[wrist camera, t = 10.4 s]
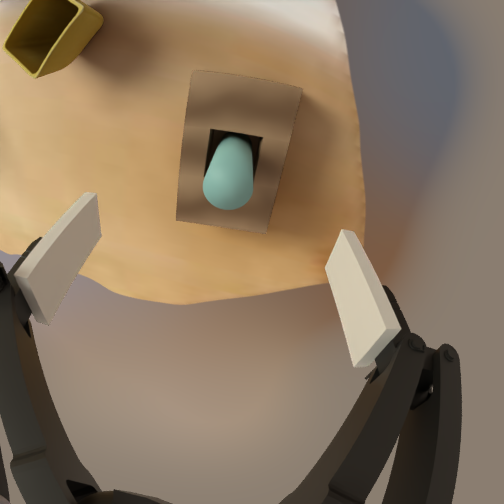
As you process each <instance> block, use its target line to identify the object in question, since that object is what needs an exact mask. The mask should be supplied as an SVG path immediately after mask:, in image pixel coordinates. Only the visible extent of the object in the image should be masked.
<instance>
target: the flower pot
mask: <svg viewBox="0 0 504 504" xmlns="http://www.w3.org/2000/svg"><path fill="white" fill-rule="evenodd" d="M102 24H103V17H102V15H101V14H100V13H98V12H97V11H95V10H94V9H92V8H91V7H89V6H88V5H86V4H85V3H83V2H82V1H81V0H30V1H29V3H28V4H27V6H26V7H25V9H24V10H23V12H22V13H21V15H20V16H19V18H18V20H17V21H16V23H15V24H14V26H13V28H12V29H11V31H10V33H9V34H8V36H7V38H6V40H5V42H4V44H3V47H2V49H3V50H4V51H5V52H6V53H7V54H8V55H9V56H10V57H11V58H12V59H13V60H14V61H15V62H16V63H17V64H18V65H19V66H20V67H21V68H22V69H23V70H24V71H25V72H26V73H27V74H28V75H29V76H31V77H32V78H34V79H36V78H38V77H41V76H44V75H47V74H50V73H53V72H56V71H59V70H61V69H63V68H65V67H66V66H68V65H69V64H70V63H71V62H72V61H74V60H75V58H76V57H77V56H78V55H79V54H80V53H81V52H82V50H83V49H84V47H85V46H86V45H87V44H88V42H89V41H90V40H91V38H92V37H93V36H94V35H95V34H96V32H97V31H98V30H99V29H100V28H101V26H102Z"/></svg>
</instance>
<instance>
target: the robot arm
mask: <svg viewBox="0 0 504 504" xmlns="http://www.w3.org/2000/svg"><path fill="white" fill-rule="evenodd" d="M101 236H102V234H101V227H100V219H99V210H98V201H97V193H90V192H85V193H84V194H83V195H82V196H81V197H80V198H79V199H78V200H77V201H76V202H75V203H74V204H73V205H72V206H71V207H70V208H69V209H68V210H67V211H66V212H65V213H64V214H63V215H62V216H61V217H60V219H59V220H58V221H57V222H56V223H55V224H54V225H53V226H52V227H51V229H50V230H49V231H48V232H47V233H46V234H45V236H44V237H39V238H38V239H37V240H35V241H34V242H32V243H31V244H30V246H29V247H28V248H27V249H26V251H25V252H24V253H23V254H22V256H21V257H20V258H19V259H18V261H17V262H16V264H15V265H14V266H13V267H12V269H11V270H10V271H9V273H8V274H6V271H5V269H4V267H3V264H2V263H1V262H0V414H1V418H2V422H3V425H4V429H5V432H6V435H7V438H8V441H9V444H10V447H11V449H12V453H13V460H12V461H11V463H10V468H11V471H12V474H13V477H14V479H15V481H16V484H17V486H18V488H19V490H20V492H21V494H22V496H23V498H24V500H25V502H26V504H172V503H169V502H166V501H164V500H161V499H159V498H155V497H150V496H146V495H142V494H137V493H133V492H127V491H121V490H115V489H114V491H103V492H102V491H101V489H100V488H99V486H98V485H97V483H96V481H95V480H94V478H93V477H92V475H91V474H90V473H89V471H88V470H87V469H86V468H85V467H84V466H83V465H82V463H81V462H80V460H79V459H78V457H77V455H76V453H75V451H74V449H73V447H72V445H71V443H70V441H69V439H68V437H67V434H66V432H65V430H64V428H63V425H62V423H61V421H60V418H59V416H58V413H57V411H56V409H55V406H54V403H53V401H52V398H51V395H50V393H49V389H48V386H47V383H46V380H45V377H44V374H43V370H42V367H41V363H40V360H39V356H38V352H37V348H36V344H35V340H34V335H33V330H32V326H31V322H30V320H29V317H30V315H31V313H32V314H33V316H34V317H35V319H36V321H37V322H39V323H42V324H45V325H48V326H49V325H50V323H51V321H52V319H53V317H54V315H55V313H56V311H57V309H58V308H59V306H60V304H61V302H62V300H63V298H64V296H65V295H66V293H67V291H68V289H69V288H70V286H71V284H72V282H73V281H74V279H75V277H76V276H77V274H78V272H79V271H80V269H81V267H82V266H83V264H84V262H85V261H86V259H87V258H88V256H89V255H90V253H91V251H92V250H93V248H94V247H95V245H96V244H97V242H98V241H99V239H100V238H101ZM325 270H326V273H327V276H328V280H329V283H330V286H331V289H332V292H333V296H334V299H335V302H336V305H337V309H338V312H339V316H340V319H341V323H342V326H343V329H344V333H345V337H346V340H347V344H348V348H349V352H350V356H351V359H352V363H353V367H368V366H369V365H370V364H371V363H372V362H373V361H374V360H375V361H376V365H377V366H376V367H375V368H374V369H373V370H372V372H370V373H369V374H368V375H367V376H366V378H365V379H368V378H369V379H368V381H367V383H366V385H365V387H364V389H363V390H362V392H361V394H360V396H359V398H358V399H357V401H356V403H355V405H354V406H353V408H352V410H351V412H350V413H349V415H348V417H347V418H346V420H345V422H344V423H343V425H342V426H341V428H340V430H339V431H338V433H337V434H336V436H335V437H334V439H333V440H332V442H331V443H330V445H329V446H328V448H327V449H326V451H325V452H324V453H323V455H322V456H321V458H320V459H319V460H318V462H317V463H316V465H315V466H314V467H313V469H312V470H311V471H310V472H309V474H308V475H307V476H306V478H305V479H304V480H303V481H302V483H301V484H300V485H299V486H298V488H296V490H295V491H293V492H292V493H291V494H289V495H288V496H287V497H285V498H284V499H283V500H282V501H281V502H280V503H279V504H365V500H366V498H367V496H368V494H369V493H370V491H371V489H372V488H373V486H374V484H375V482H376V481H377V479H378V477H379V475H380V473H381V471H382V470H383V468H384V466H385V464H386V462H387V460H388V458H389V456H390V453H391V452H392V449H393V447H394V445H395V443H396V440H397V438H398V436H399V440H398V445H397V450H396V455H395V459H394V463H393V467H392V471H391V475H390V479H389V482H388V485H387V489H386V493H385V495H384V499H383V502H382V504H452V499H453V494H454V489H455V483H456V477H457V470H458V463H459V454H460V453H459V452H460V442H461V422H462V395H461V373H460V360H459V356H458V354H457V352H456V350H455V349H454V348H453V347H452V346H451V345H449V344H442V345H441V346H440V347H439V348H438V349H437V350H435V349H432V348H429V347H426V344H425V342H424V341H423V339H422V338H421V337H420V336H418V335H416V334H414V333H411V332H410V329H409V327H408V325H407V322H406V320H405V318H404V316H403V314H402V311H401V310H400V307H399V305H398V304H397V301H396V299H395V297H394V295H393V293H392V292H391V291H390V290H389V288H388V287H387V286H384V285H381V283H380V281H379V279H378V277H377V275H376V273H375V271H374V269H373V267H372V265H371V263H370V261H369V259H368V257H367V255H366V253H365V251H364V249H363V247H362V245H361V244H360V242H359V240H358V238H357V236H356V234H355V233H354V231H349V230H344V229H342V230H341V232H340V234H339V237H338V239H337V241H336V244H335V246H334V248H333V251H332V253H331V255H330V257H329V260H328V262H327V264H326V266H325ZM432 387H433V392H432ZM399 434H400V435H399ZM0 504H10V500H9V491H8V484H7V479H6V474H5V469H4V464H3V459H2V454H1V448H0Z"/></svg>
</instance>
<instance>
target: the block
mask: <svg viewBox="0 0 504 504" xmlns="http://www.w3.org/2000/svg"><path fill="white" fill-rule="evenodd" d="M302 91H303V88H299V87H295V86H291V85H287V84H282V83H278V82H273V81H268V80H263V79H258V78H252V77H246V76H240V75H233V74H226V73H218V72H209V71H199V70H193V71H192V76H191V82H190V88H189V95H188V102H187V108H186V116H185V123H184V131H183V140H182V149H181V159H180V169H179V181H178V194H177V210H176V221H183V222H190V223H197V224H203V225H210V226H217V227H223V228H230V229H236V230H243V231H249V232H255V233H262V234H266V232H267V228H268V224H269V221H270V217H271V213H272V209H273V205H274V201H275V197H276V194H277V190H278V186H279V182H280V178H281V174H282V170H283V166H284V162H285V158H286V154H287V151H288V147H289V143H290V139H291V135H292V131H293V127H294V123H295V119H296V115H297V111H298V107H299V103H300V99H301V95H302ZM228 132H237V133H243V134H246V135H248V137H249V138H250V140H251V143H252V164H253V193H252V196H251V198H250V199H249V201H248V202H247V203H246V204H245V205H243V206H242V207H240V208H237V209H233V210H224V209H220V208H217V207H215V206H214V205H212V204H211V203H210V202H209V201H208V200H207V199H206V197H205V195H204V192H203V181H204V178H205V176H206V173H207V171H208V168H209V166H210V163H211V161H212V159H213V156H214V154H215V152H216V149H217V147H218V145H219V142H220V140H221V138H222V137H223V136H224V135H225V134H226V133H228Z"/></svg>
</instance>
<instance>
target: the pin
mask: <svg viewBox="0 0 504 504" xmlns="http://www.w3.org/2000/svg"><path fill="white" fill-rule="evenodd" d="M203 192H204V195H205V197H206V199H207V200H208V201H209V202H210V203H211V204H212V205H214V206H215V207H217V208H220V209H224V210H233V209H237V208H240V207H242V206H243V205H245V204H246V203H247V202H248V201H249V199H250V198H251V196H252V193H253V164H252V143H251V140H250V138H249V137H248V135H246V134H243V133H237V132H228V133H226V134H225V135H224V136H223V137H222V138H221V140H220V142H219V145H218V147H217V149H216V152H215V154H214V156H213V159H212V161H211V163H210V166H209V168H208V171H207V173H206V176H205V178H204V181H203Z"/></svg>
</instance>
